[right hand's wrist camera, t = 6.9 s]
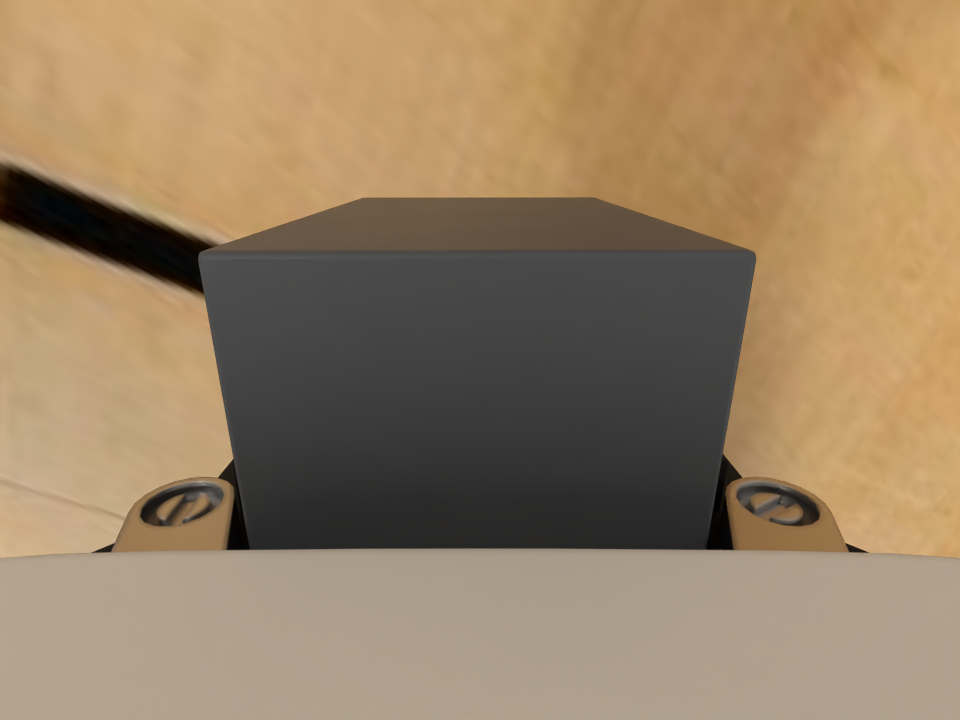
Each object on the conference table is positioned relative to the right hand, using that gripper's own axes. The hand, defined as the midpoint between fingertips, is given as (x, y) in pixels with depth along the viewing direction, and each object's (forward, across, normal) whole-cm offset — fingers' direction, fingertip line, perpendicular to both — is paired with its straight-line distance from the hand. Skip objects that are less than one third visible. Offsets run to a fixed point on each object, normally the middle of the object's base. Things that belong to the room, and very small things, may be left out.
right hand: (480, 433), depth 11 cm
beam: (+3, 0, +30) cm, 30 cm away
